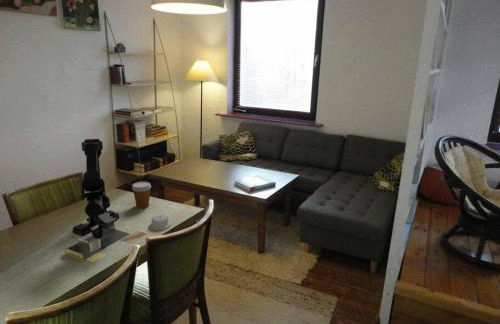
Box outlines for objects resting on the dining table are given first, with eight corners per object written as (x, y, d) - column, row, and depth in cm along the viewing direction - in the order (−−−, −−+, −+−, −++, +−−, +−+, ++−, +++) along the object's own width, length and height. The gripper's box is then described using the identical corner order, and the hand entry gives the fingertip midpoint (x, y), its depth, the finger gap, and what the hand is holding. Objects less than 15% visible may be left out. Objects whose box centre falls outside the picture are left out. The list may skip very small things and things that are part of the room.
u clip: (78, 249, 142) (77, 239, 141) (89, 243, 146) (88, 234, 145) (90, 253, 139) (89, 243, 138) (101, 248, 143) (100, 238, 142)
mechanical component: (145, 229, 161) (165, 232, 159) (144, 220, 160) (165, 223, 158) (155, 220, 170) (174, 222, 168) (155, 211, 169) (174, 214, 167)
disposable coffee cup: (136, 202, 190) (135, 181, 186) (154, 202, 190) (153, 181, 186) (130, 209, 181) (128, 187, 177) (149, 210, 180) (147, 188, 177)
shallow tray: (62, 254, 138) (62, 249, 138) (113, 228, 160) (112, 224, 159) (80, 261, 134) (80, 256, 133) (130, 234, 155) (129, 229, 155)
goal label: (85, 260, 135) (85, 259, 135) (98, 252, 140) (98, 252, 140) (92, 262, 133) (92, 262, 133) (105, 255, 139) (105, 255, 138)
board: (120, 240, 150) (120, 240, 150) (137, 230, 159) (137, 230, 159) (130, 243, 148) (130, 243, 148) (147, 234, 156) (147, 233, 156)
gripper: (89, 219, 130) (93, 257, 135) (127, 202, 146) (130, 236, 151) (69, 213, 135) (74, 249, 139) (108, 197, 151) (111, 230, 155)
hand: (98, 241), depth 146 cm, fingers closed
